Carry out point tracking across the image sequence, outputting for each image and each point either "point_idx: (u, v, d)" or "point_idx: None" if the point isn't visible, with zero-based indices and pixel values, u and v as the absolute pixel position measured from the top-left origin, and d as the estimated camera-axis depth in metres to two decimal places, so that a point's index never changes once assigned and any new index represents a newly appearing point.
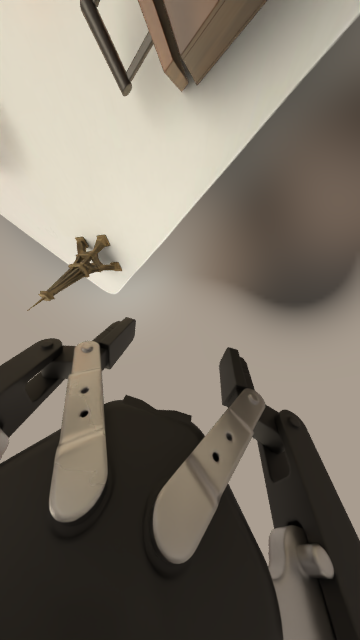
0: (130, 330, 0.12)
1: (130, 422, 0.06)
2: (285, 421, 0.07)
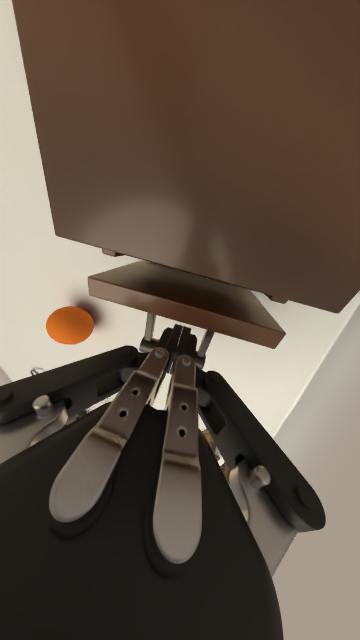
0: (179, 336, 0.12)
1: None
2: (207, 378, 0.08)
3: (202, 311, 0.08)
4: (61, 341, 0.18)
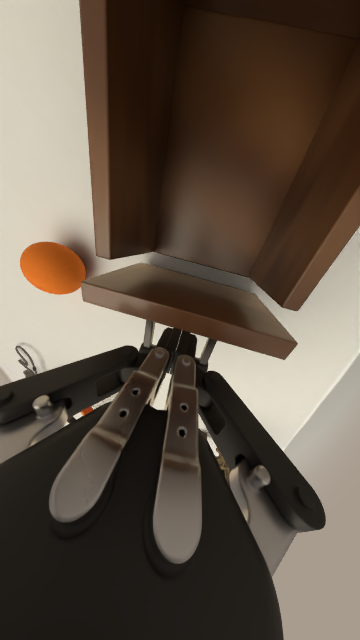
0: (180, 336, 0.12)
1: None
2: (207, 378, 0.08)
3: (206, 319, 0.07)
4: (40, 284, 0.13)
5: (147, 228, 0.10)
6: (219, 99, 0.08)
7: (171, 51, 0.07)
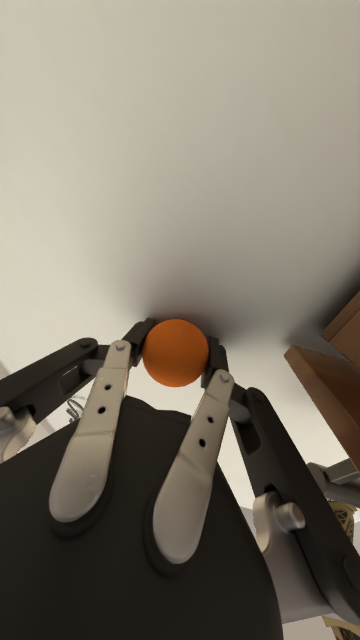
0: None
1: (130, 422, 0.06)
2: (250, 396, 0.08)
3: None
4: (174, 385, 0.10)
5: None
6: None
7: None
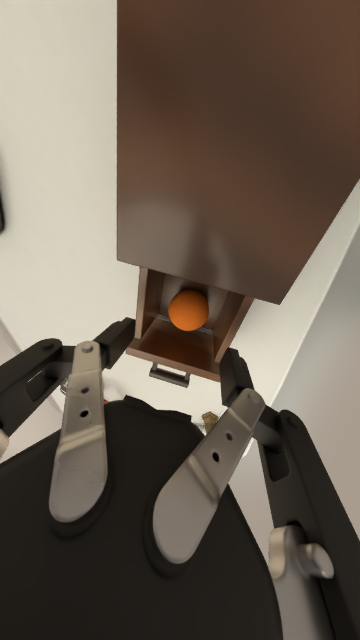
0: (130, 330, 0.12)
1: (130, 422, 0.06)
2: (285, 421, 0.07)
3: (182, 364, 0.16)
4: (188, 326, 0.16)
5: (155, 310, 0.19)
6: None
7: None
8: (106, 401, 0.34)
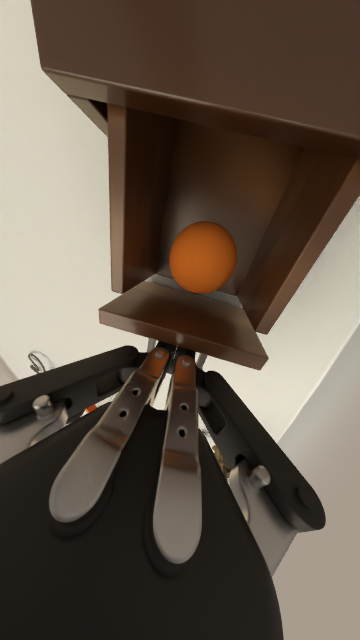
0: None
1: None
2: (208, 378, 0.08)
3: (197, 339, 0.09)
4: (202, 286, 0.10)
5: (150, 259, 0.12)
6: (208, 160, 0.10)
7: (170, 130, 0.09)
8: None
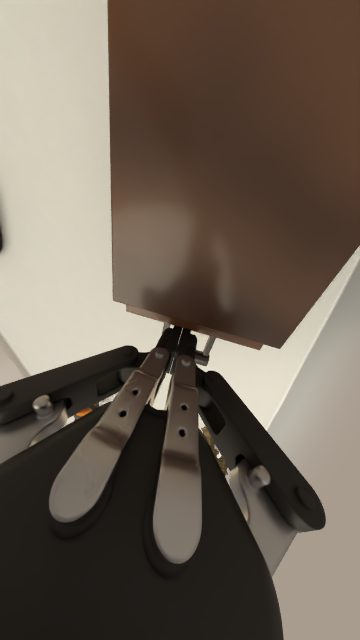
0: (179, 336, 0.12)
1: None
2: (207, 378, 0.08)
3: None
4: None
5: None
6: None
7: None
8: None
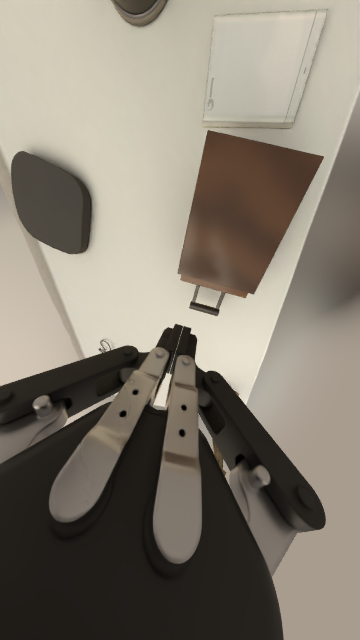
0: (180, 336, 0.12)
1: None
2: (207, 378, 0.08)
3: None
4: None
5: None
6: None
7: None
8: None
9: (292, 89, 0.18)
